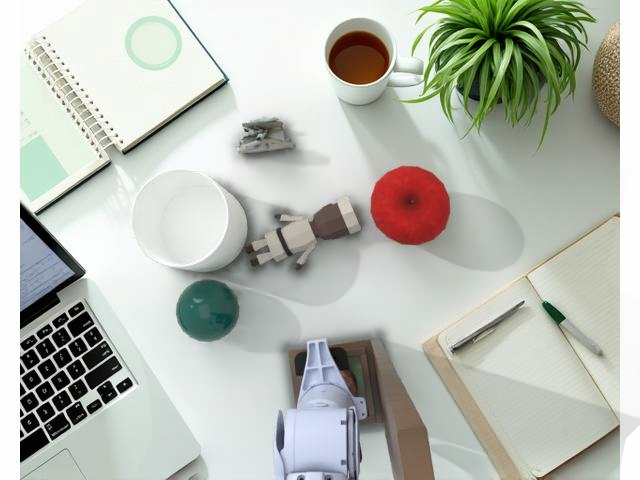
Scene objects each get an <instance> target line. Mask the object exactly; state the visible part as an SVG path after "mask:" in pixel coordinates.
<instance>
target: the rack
mask: <svg viewBox="0 0 640 480" xmlns="http://www.w3.org/2000/svg"><path fill="white" fill-rule="evenodd" d="M332 347H342V348H344V349H345V350H346V352H347V355H348V362H349V369H350V370H351V371H352V372H353V374H354V376H355V378H356V381H357V397H363V398H364V399H365V401H366V407H367V417H366V418H365V419H361V420H359V426H365V425H372V424H373V425H374V424H380V423H382V426H383V430H384V436H385V442H386V446H387V447H386V448H387V451H388V456H389V462H390V466H391V467H390V468H391V472H392V476H393V480H436V477H435V471H434V464H433V458H432V453H431V445H430V438H429V434H428V429H427V427H426V424H425V423H424V420H423V419H422V417H421V415H420V413H419V411H418V409H417V407H416V406H415V404H414V402H413V400H412V398H411V396H410V394H409V392H408V390H407V388H406V386H405V385H404V382H403V381H402V379H401V377H400V375H399V374H398V371H397V370H396V368H395V366H394V363H393V362H392V360H391V358H390V356H389V354H388V352H387V351H386V349H385V347H384V345H383V343H382V341H381V339H380V337H377V338H368V339H361V340H354V341H348V342H341V343H333V344H328V348H332ZM303 351H307V347H306V348H299V349H291V350H288V351H287V354H288V360H289V367H290V368H289V369H290V374H291V381H292V388H293V396H294V404H295V409H297V404H298V399H299V394H300V389H301V385H302V380H303V375H302V376H296V371H295V364H294V359H295V357H296V355H297V354H298V353H300V352H303ZM361 402H363V401H361ZM363 415H364V413H363Z"/></svg>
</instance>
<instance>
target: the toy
mask: <svg viewBox="0 0 640 480" xmlns="http://www.w3.org/2000/svg"><path fill="white" fill-rule="evenodd" d="M274 219H279V221H280V222H281V221H283V222H284V221H288V222H291V223H289V224H287V225H285V226H283V227H281V226H279V227H277V228H275V229H274V230H270V231H267V232H265V233H264V238H262V239H257V240H254V241H251V244H250V245H246V246H243V248H244V250H245V253H246V254H248V255H250V254H251V253H254V252H255V253H257V252H259V251H261V250H263V249H265V248H266V247H268V249H269V251H267V252H264V253H261V254H260V253H259V254H257V255H256V258H253V259H250V260H249V264H250V266H251V267H253V268H255V267H257V266H259V265H261V266H263V265H264V264H266V263H267V262H270V261H271V260H274V261H275V262H276V263H279V262H280V261H282V260H284V259H286V258H287V257H288V258H290V257H292V256H294V254H297V253H300V252H302V254H301V256H300V257H299V258H298V259H297V261H296V263H297V264H296V267H294V268H295V271H296V272H298V271H301V269H302V268H303V266H304V265H305V264H306V262H307V259H308V257H309V255H310V254H311V253H312V252H313V250H315V248H316V247H317V245H316V244H317V243H318V239H321V240H322V241H331V240H338V239H339V240H340V239H341V238H344V237H346V235H347V234H350V235H353V234H355V233H357V232H360V231H362V227H361V225H360V223H359V220H358V218H357V215H356V213H355V210H354V208H353V205H352V203H351V201H350V199H349V196H348V195H346V196H344V197H342V198H339V199H337V200H336V202H335V203H331V202H330V203H328V204H326V205H324V206H322V207H321V208H320V209H319V210H317V211H316V212H314V214H313V217H312V220H310V219H309V218H306V217H305V216H303V215H302V216H301V215H300V216H291V215H288V214H283V213H276V214H274Z"/></svg>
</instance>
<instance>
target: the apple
mask: <svg viewBox="0 0 640 480" xmlns="http://www.w3.org/2000/svg"><path fill="white" fill-rule="evenodd" d="M370 214H371V217H372V220H373V221H374V224H375V227H376V228H377V229H378V230H379V231H380V232H381V233H382V234H383V235H384V236H385V237H386V238H387V239H390V240H392V241H393V242H396V243H397V244H399V245H406V246H407V245H408V246H421V245H423V244H426V243H429V242H432V241H434V240H435V239H436V238H438V237H439V236H440V235H441V234H442V232H444V231H445V230H446V228H447V225H448V222H449V218H450V215H451V198H450V194H449V193H448V191H447V188H446V187H445V184H444V183H443V182H442V180H440V179H439V177H437V176H436V175H435V174H434V173H433V172H432V171H430V170H428V169H426V168H423V167H420V166H417V165H416V166H414V165H400V166H398V167H396V168H393V169H391V170H388V171H387V172H386V173H384V174H383V175H382V176H381V177H380V178H379V179H378V180H377V181H376V182H375V184H374V186H373V189H372V193H371V196H370Z"/></svg>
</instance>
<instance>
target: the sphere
mask: <svg viewBox="0 0 640 480" xmlns="http://www.w3.org/2000/svg"><path fill="white" fill-rule="evenodd" d="M240 308H241V307H240V303H239V299H238V296H237V294H236V293H235V291H234V290H233V289H232V288H231V287H230V286H228V285H227V284H226V283H225V282H222V281H221V280H217V279H211V278H204V279H200V280H196V281H193V282H192V283H191V284H189V285H188V286H186V288H184V289H183V291H182V292H181V293H180V294H179V297H178V300H177V302H176V305H175V316H176V320H177V324H178V326H179V327H180V329H181V330H182V332H183V333H184V334H185V335H187V337H189V338H190V339H192V340H195V341H197V342H199V343H203V342H204V343H213V342H217V341H220V340H222V339H224V338H225V337H226V336H228V335H230V333H231V332H232V331H233V330H234V328H235V327H236V326H237V323H238V321H239V318H240V311H241V309H240Z"/></svg>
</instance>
